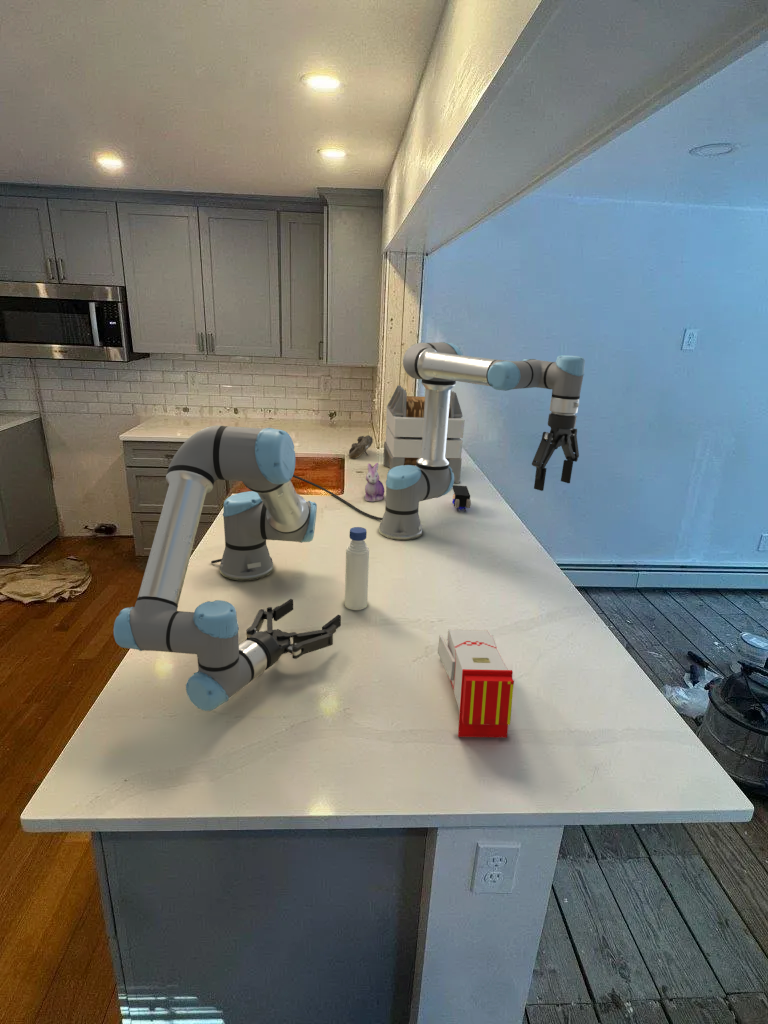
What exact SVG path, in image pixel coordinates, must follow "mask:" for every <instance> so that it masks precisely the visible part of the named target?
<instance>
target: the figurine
mask: <svg viewBox="0 0 768 1024" xmlns="http://www.w3.org/2000/svg"><path fill="white" fill-rule="evenodd" d="M378 469H379V462H376V463H374V466H372V464H371V463H367V473H366V475H365V480H366V484H365V487H364V492H365V494H364V499H365V501H367V502H379V501H381V500H384V497H385V486H384V484H383V482H382V481H381V480H380V475H379V473H378Z"/></svg>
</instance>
